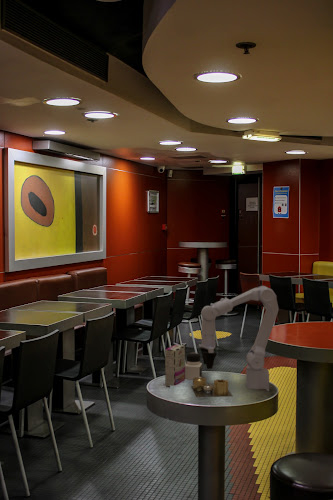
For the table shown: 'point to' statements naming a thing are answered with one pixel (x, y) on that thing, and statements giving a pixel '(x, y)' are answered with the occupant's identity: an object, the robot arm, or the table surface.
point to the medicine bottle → (193, 366)
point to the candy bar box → (174, 365)
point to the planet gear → (220, 387)
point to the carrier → (205, 388)
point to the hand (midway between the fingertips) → (208, 366)
